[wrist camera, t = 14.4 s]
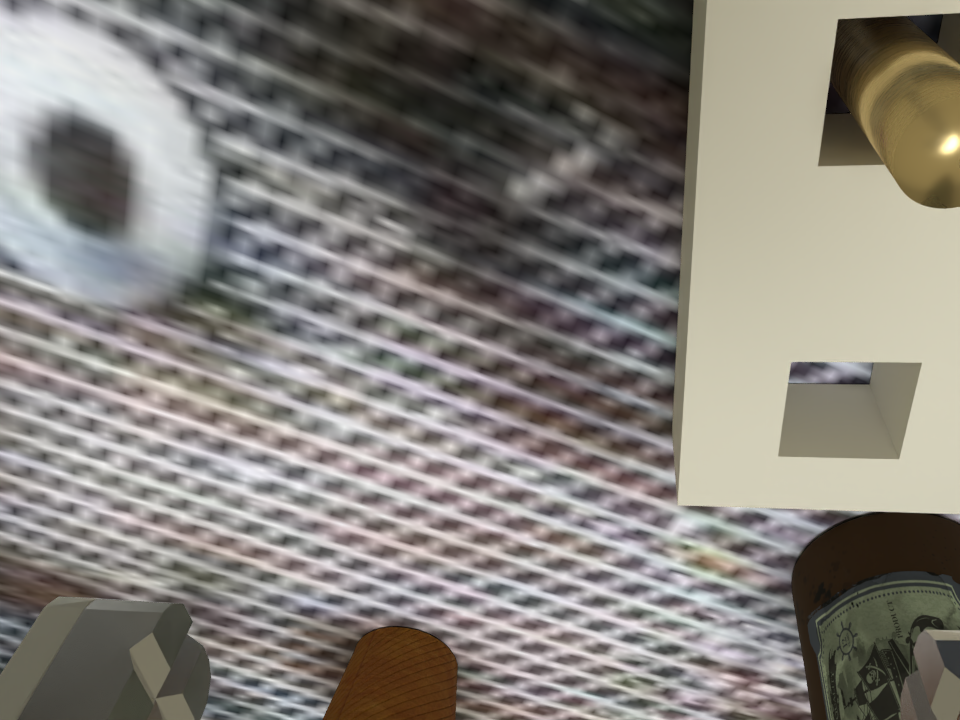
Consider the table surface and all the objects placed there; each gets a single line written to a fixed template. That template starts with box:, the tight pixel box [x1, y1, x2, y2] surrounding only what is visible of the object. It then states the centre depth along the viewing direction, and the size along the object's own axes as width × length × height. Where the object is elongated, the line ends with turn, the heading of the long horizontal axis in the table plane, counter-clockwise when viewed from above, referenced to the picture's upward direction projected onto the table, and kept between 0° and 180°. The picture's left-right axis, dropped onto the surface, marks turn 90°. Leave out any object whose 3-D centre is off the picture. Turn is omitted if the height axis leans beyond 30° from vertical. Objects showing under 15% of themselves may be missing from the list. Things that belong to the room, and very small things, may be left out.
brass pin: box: [830, 16, 960, 209], centre depth 27 cm, size 3×3×10 cm
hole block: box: [672, 0, 960, 514], centre depth 32 cm, size 22×12×5 cm, turn 4°
